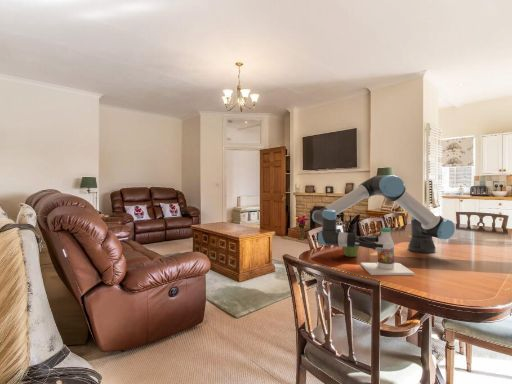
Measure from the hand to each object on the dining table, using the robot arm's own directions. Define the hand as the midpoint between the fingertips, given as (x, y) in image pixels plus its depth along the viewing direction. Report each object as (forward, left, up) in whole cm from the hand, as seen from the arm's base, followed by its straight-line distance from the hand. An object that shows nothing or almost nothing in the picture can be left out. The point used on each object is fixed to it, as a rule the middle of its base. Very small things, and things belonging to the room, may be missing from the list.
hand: (391, 243), depth 141 cm
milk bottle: (+2, -1, -13) cm, 13 cm away
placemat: (+2, -1, -14) cm, 14 cm away
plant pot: (+12, -28, -14) cm, 34 cm away
